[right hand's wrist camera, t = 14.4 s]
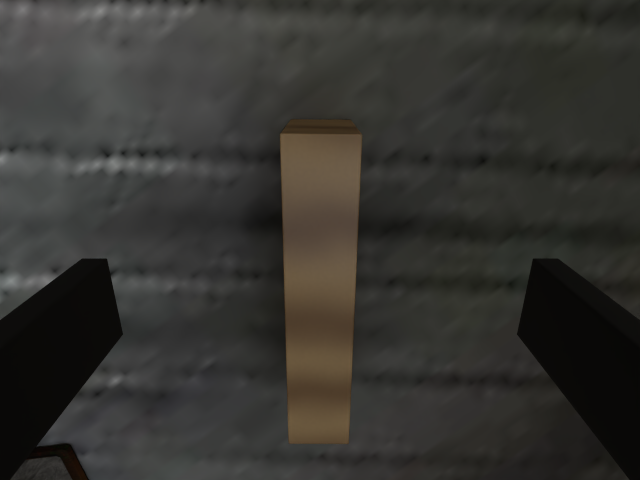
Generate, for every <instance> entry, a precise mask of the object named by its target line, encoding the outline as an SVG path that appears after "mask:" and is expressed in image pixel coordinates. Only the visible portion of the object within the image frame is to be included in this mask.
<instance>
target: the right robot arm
mask: <svg viewBox="0 0 640 480" xmlns="http://www.w3.org/2000/svg"><path fill="white" fill-rule="evenodd" d="M122 335H123V332H122V328H121V323H120V318H119V314H118V309H117V304H116V299H115V295H114V290H113V285H112V280H111V276H110V271H109V266H108V261H107V259H81V260H80V261H78V262H77V263H76V264H74V265H73V266H72V267H70V268H69V269H68V270H66V271H65V272H64V273H62V274H61V275H60V276H58V277H57V278H56V279H54V280H53V281H52V282H50V283H49V284H48V285H46V286H45V287H44V288H42V289H41V290H40V291H38V292H37V293H36V294H34V295H33V296H32V297H30V298H29V299H28V300H26V301H25V302H24V303H22V304H21V305H20V306H18V307H17V308H16V309H14V310H13V311H12V312H10V313H9V314H8V315H6V316H5V317H4V318H2V319H1V320H0V480H10V479H11V478H12V477H13V476H14V474H15V473H16V472H17V470H18V469H19V468H20V467H21V465H22V464H23V463H24V461H25V460H26V459H27V457H28V456H29V455H30V454H31V452H32V451H33V450H34V448H35V447H36V446H37V445H38V443H39V442H40V441H41V439H42V438H43V437H44V436H45V434H46V433H47V432H48V430H49V429H50V428H51V426H52V425H53V424H54V423H55V421H56V420H57V419H58V417H59V416H60V415H61V414H62V412H63V411H64V410H65V408H66V407H67V406H68V405H69V403H70V402H71V401H72V399H73V398H74V397H75V395H76V394H77V393H78V392H79V390H80V389H81V388H82V386H83V385H84V384H85V383H86V381H87V380H88V379H89V377H90V376H91V375H92V374H93V372H94V371H95V370H96V368H97V367H98V366H99V364H100V363H101V362H102V361H103V359H104V358H105V357H106V355H107V354H108V353H109V352H110V350H111V349H112V348H113V346H114V345H115V344H116V343H117V341H118V340H119V339H120V337H121V336H122ZM517 335H518V336H519V337H520V339H521V340H522V341H523V343H524V344H525V345H526V346H527V348H528V349H529V350H530V352H531V353H532V354H533V355H534V357H535V358H536V359H537V361H538V362H539V363H540V364H541V366H542V367H543V368H544V370H545V371H546V372H547V374H548V375H549V376H550V377H551V379H552V380H553V381H554V383H555V384H556V385H557V386H558V388H559V389H560V390H561V392H562V393H563V394H564V395H565V397H566V398H567V399H568V401H569V402H570V403H571V405H572V406H573V407H574V408H575V410H576V411H577V412H578V414H579V415H580V416H581V417H582V419H583V420H584V421H585V423H586V424H587V425H588V426H589V428H590V429H591V430H592V432H593V433H594V434H595V436H596V437H597V438H598V439H599V441H600V442H601V443H602V445H603V446H604V447H605V448H606V450H607V451H608V452H609V454H610V455H611V456H612V457H613V459H614V460H615V461H616V463H617V464H618V465H619V467H620V468H621V469H622V470H623V472H624V473H625V474H626V476H627V477H628V478H629V479H630V480H640V320H639V319H638V318H636V317H635V316H634V315H632V314H631V313H630V312H628V311H627V310H626V309H624V308H623V307H622V306H620V305H619V304H618V303H616V302H615V301H614V300H612V299H611V298H610V297H608V296H607V295H606V294H604V293H603V292H602V291H600V290H599V289H598V288H596V287H595V286H594V285H592V284H591V283H590V282H588V281H587V280H586V279H584V278H583V277H582V276H580V275H579V274H578V273H576V272H575V271H574V270H572V269H571V268H570V267H568V266H567V265H566V264H564V263H563V262H562V261H560V260H559V259H533V261H532V266H531V271H530V276H529V280H528V285H527V290H526V295H525V299H524V304H523V309H522V313H521V318H520V323H519V328H518V332H517Z"/></svg>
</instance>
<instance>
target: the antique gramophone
mask: <svg viewBox="0 0 640 480" xmlns="http://www.w3.org/2000/svg"><path fill="white" fill-rule="evenodd" d="M10 480H88V479H87V477H86V475H85V473H84V471H83V469H82V467H81V465H80V463H79V462H78V460H77V458H76V456H75V454H74V452H73V450H72V448H71V446H69V445H67V444H66V445H57V446H49V447H41V448H34V450H33V451H32V452H31V454H30V455H29V456H28V457H27V459H26V460H25V461H24V463H23V464H22V465H21V467H20V468H19V469H18V470H17V472H16V473H15V474H14V476H13V477H12V478H11V479H10Z"/></svg>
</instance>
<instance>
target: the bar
mask: <svg viewBox="0 0 640 480" xmlns="http://www.w3.org/2000/svg"><path fill="white" fill-rule="evenodd" d="M361 151H362V134H361V133H360V131H359V130H358V129H357V127H356V126H355V125H354V124H353V122H352V121H351V120H315V119H291V120H290V121H289V123H288V124H287V125H286V127H285V128H284V129H283V131H282V132H281V133H280V154H281V190H282V225H283V260H284V296H285V331H286V366H287V402H288V437H289V444H348V443H349V424H350V401H351V378H352V356H353V333H354V310H355V287H356V265H357V242H358V219H359V196H360V174H361Z"/></svg>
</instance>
